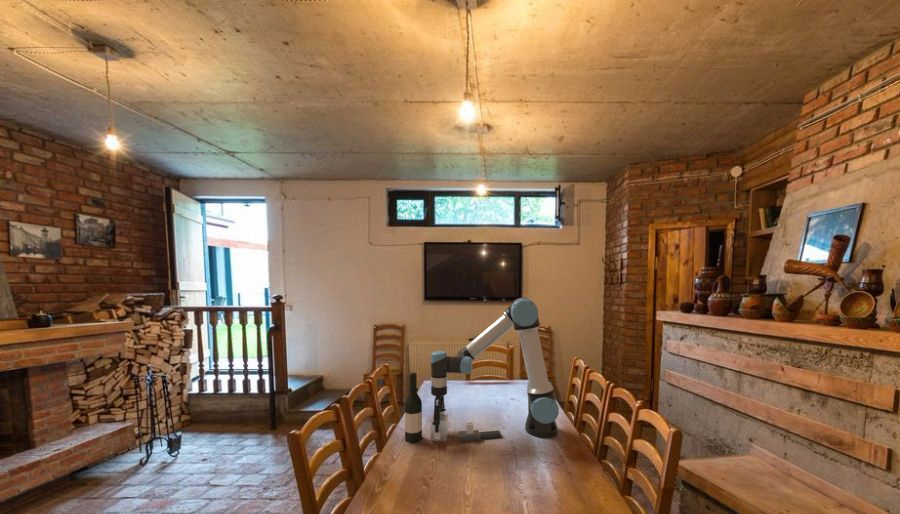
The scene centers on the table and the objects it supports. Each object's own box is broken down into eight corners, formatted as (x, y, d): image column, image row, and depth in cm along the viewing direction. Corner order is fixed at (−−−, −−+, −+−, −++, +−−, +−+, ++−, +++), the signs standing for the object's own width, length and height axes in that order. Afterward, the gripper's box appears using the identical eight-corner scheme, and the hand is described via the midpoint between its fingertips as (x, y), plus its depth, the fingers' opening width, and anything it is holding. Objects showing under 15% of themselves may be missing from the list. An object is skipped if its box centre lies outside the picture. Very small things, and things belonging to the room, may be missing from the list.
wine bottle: (419, 443, 146) (418, 375, 149) (401, 442, 148) (401, 374, 150) (424, 435, 155) (424, 370, 157) (407, 433, 156) (407, 369, 159)
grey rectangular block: (448, 434, 155) (447, 414, 156) (446, 441, 148) (446, 420, 149) (433, 433, 156) (433, 414, 157) (430, 440, 149) (430, 420, 150)
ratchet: (498, 433, 155) (498, 419, 156) (501, 438, 150) (501, 423, 151) (459, 436, 152) (458, 422, 153) (461, 442, 147) (460, 427, 148)
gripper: (435, 377, 167) (435, 420, 165) (426, 394, 142) (426, 445, 140) (449, 377, 166) (450, 421, 164) (443, 394, 141) (443, 445, 139)
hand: (439, 432), depth 152 cm, fingers open, 13 cm apart
